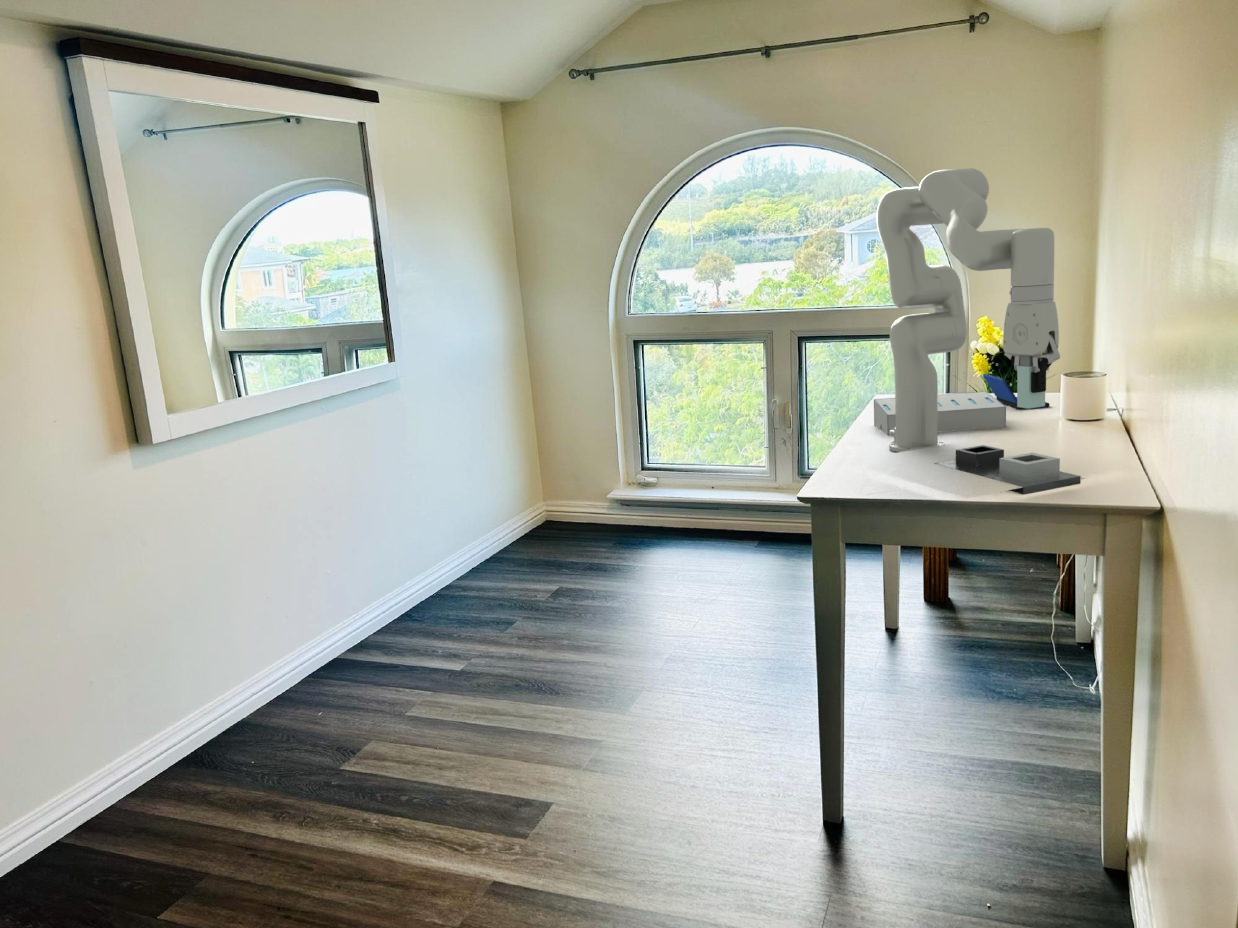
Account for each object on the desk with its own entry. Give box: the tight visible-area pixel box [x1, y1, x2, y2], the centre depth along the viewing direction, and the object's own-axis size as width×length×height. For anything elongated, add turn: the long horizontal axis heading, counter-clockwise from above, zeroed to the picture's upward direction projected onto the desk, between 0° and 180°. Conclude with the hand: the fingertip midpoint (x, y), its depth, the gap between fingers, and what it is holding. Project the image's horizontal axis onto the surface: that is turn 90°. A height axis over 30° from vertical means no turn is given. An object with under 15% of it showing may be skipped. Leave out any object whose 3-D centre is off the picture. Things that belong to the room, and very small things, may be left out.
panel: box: [933, 444, 1082, 496], centre depth 195 cm, size 26×14×5 cm, turn 21°
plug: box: [1016, 355, 1046, 410], centre depth 185 cm, size 3×4×10 cm
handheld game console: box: [982, 373, 1050, 411], centre depth 273 cm, size 16×13×9 cm
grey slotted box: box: [873, 390, 1007, 436], centre depth 252 cm, size 30×14×8 cm, turn 89°
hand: (1031, 390), depth 185 cm, fingers closed on plug, 2 cm apart
